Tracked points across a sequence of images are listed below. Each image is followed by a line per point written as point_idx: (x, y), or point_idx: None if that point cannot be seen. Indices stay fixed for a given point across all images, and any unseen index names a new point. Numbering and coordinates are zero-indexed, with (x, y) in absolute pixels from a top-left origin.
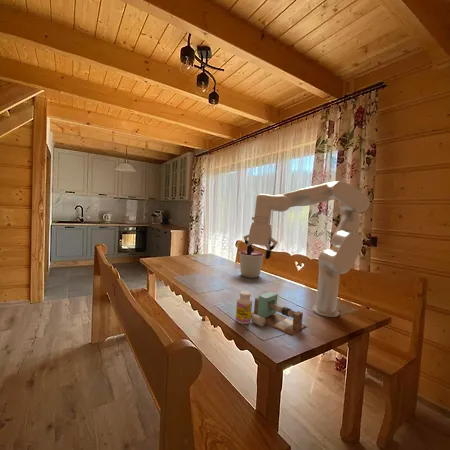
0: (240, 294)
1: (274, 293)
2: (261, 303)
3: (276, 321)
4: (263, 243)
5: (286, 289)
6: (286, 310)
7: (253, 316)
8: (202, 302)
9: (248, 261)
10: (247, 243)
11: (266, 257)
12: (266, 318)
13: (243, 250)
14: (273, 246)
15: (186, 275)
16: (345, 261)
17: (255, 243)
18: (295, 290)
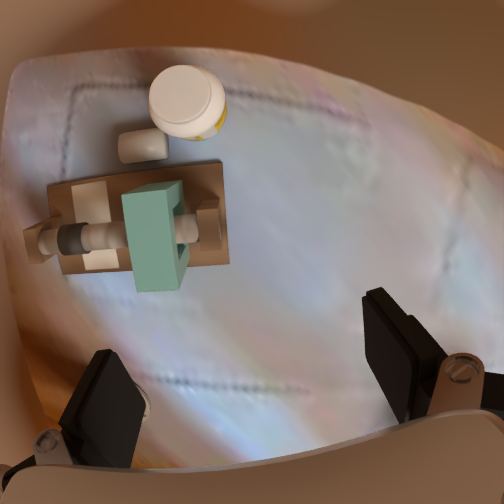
0: (189, 66)
1: (150, 286)
2: (154, 187)
3: (119, 212)
4: (40, 496)
5: (296, 439)
6: (64, 230)
7: (158, 131)
8: (409, 109)
9: None
10: (486, 396)
11: (94, 358)
12: None
13: None
14: (2, 480)
15: None
16: None
17: (250, 476)
18: (273, 451)
